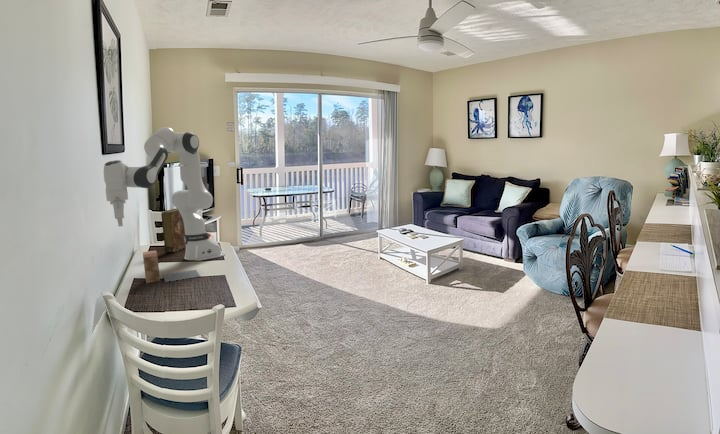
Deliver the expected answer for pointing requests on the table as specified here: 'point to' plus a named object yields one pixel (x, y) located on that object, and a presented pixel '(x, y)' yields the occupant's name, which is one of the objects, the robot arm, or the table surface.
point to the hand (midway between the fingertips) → (120, 225)
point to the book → (173, 230)
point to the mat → (181, 275)
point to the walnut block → (151, 266)
